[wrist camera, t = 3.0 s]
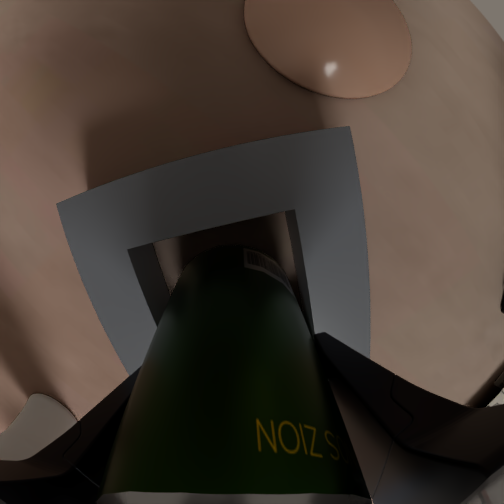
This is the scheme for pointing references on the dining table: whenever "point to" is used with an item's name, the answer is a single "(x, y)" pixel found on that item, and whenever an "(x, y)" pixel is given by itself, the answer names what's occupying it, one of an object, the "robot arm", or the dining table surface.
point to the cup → (35, 428)
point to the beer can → (232, 399)
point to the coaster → (332, 43)
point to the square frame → (221, 213)
